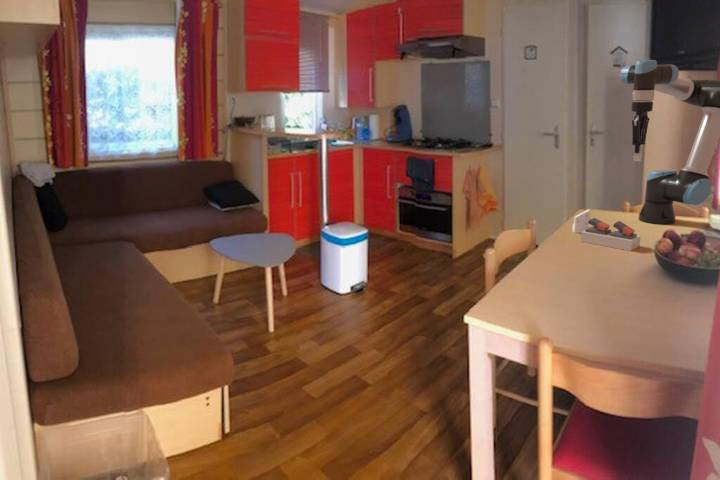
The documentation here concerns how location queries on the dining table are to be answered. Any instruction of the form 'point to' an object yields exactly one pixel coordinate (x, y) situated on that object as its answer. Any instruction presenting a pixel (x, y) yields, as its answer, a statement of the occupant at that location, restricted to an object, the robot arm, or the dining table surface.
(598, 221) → the rocker
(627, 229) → the rocker
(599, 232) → the power strip
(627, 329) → the dining table surface
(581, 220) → the white wedge bracket
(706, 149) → the robot arm
